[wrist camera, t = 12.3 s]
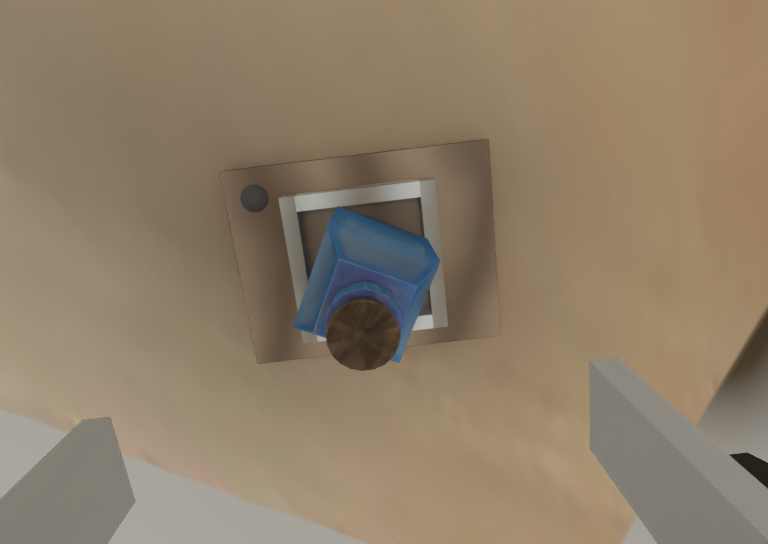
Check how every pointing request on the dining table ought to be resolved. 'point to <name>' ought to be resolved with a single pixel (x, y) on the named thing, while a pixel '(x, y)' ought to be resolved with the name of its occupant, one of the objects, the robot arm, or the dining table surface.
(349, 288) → the perfume bottle
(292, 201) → the brown board with frame
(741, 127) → the dining table surface
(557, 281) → the dining table surface
